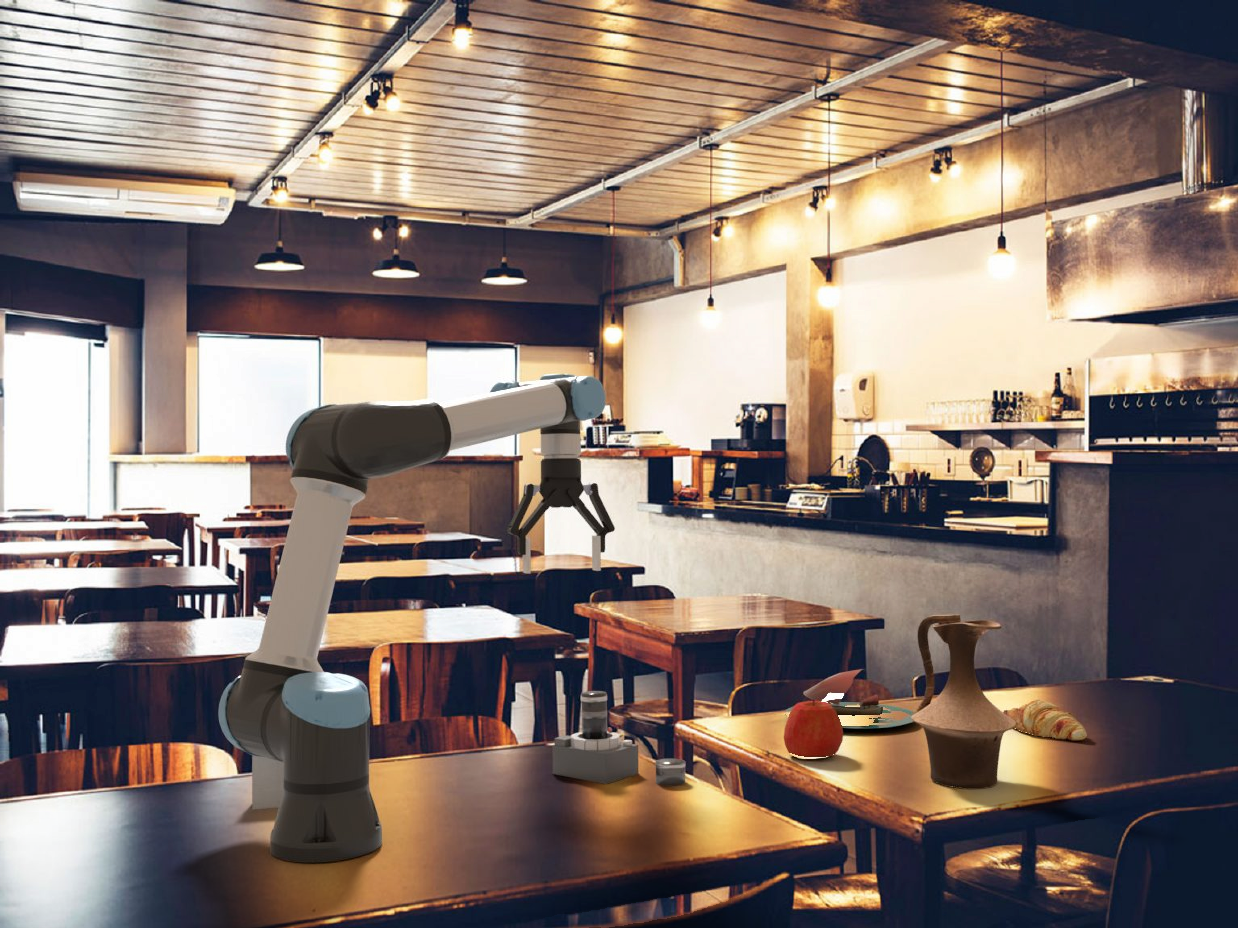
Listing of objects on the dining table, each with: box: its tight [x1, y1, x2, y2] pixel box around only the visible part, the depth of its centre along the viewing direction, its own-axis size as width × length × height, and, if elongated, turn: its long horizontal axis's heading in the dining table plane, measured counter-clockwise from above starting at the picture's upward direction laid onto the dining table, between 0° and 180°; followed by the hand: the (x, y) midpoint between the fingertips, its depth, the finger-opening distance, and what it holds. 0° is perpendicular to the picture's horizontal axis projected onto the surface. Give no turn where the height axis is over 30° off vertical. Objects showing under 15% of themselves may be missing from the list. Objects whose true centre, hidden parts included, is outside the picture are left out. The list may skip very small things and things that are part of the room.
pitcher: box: [911, 613, 1016, 790], centre depth 197 cm, size 18×17×28 cm
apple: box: [783, 699, 844, 757], centre depth 216 cm, size 11×11×11 cm
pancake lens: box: [654, 758, 686, 787], centre depth 198 cm, size 5×5×4 cm
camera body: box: [552, 727, 640, 785], centre depth 204 cm, size 9×12×7 cm
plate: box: [784, 668, 915, 729], centre depth 249 cm, size 28×28×11 cm
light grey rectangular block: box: [251, 755, 284, 810], centre depth 186 cm, size 4×7×10 cm, turn 107°
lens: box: [580, 690, 608, 740], centre depth 204 cm, size 5×5×9 cm
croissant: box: [1002, 698, 1088, 741], centre depth 235 cm, size 21×10×8 cm, turn 27°
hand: (562, 571), depth 217 cm, fingers open, 13 cm apart
